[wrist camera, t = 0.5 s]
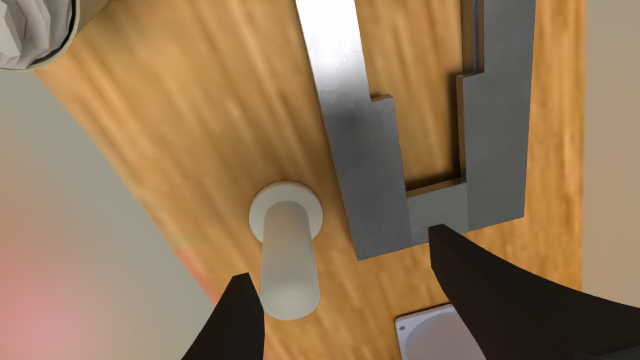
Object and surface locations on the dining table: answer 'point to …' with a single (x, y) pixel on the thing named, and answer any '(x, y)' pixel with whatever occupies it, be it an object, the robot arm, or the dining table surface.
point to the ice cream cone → (40, 30)
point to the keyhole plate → (382, 136)
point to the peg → (287, 248)
